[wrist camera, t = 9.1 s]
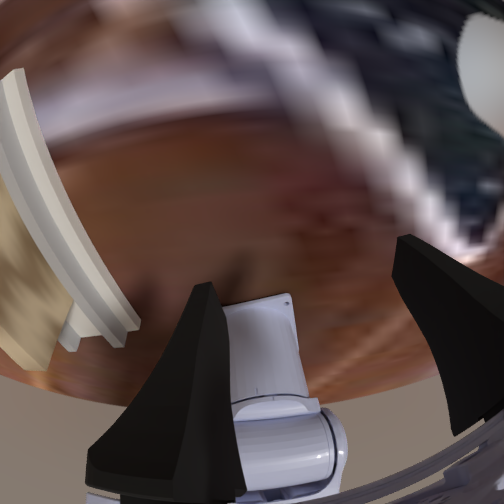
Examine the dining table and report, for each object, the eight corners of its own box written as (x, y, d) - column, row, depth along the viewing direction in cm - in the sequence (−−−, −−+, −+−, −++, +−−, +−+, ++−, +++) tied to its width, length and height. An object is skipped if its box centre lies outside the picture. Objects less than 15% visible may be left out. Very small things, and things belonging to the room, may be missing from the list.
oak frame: (77, 292, 20) (46, 371, 13) (54, 297, 20) (24, 370, 13) (7, 167, 13) (-65, 228, 6) (-13, 183, 13) (-76, 242, 6)
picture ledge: (141, 320, 24) (136, 345, 22) (68, 330, 24) (61, 352, 22) (23, 68, 10) (-4, 72, 7) (-43, 133, 10) (-64, 146, 8)
